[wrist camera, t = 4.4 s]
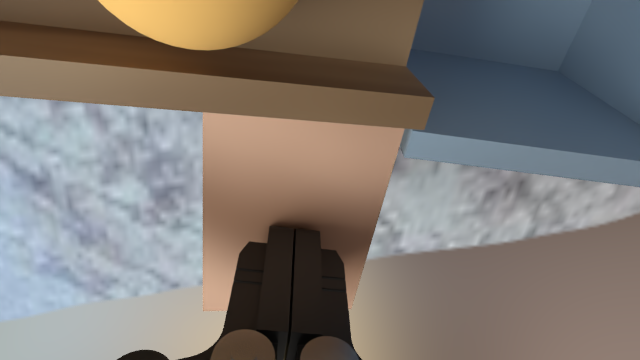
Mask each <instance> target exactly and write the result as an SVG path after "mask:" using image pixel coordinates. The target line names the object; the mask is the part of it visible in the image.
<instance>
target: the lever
mask: <svg viewBox="0 0 640 360" xmlns="http://www.w3.org/2000/svg"><path fill="white" fill-rule="evenodd" d="M423 2H424V0H298V2H297V3H296V4H295V5H294V7H293V8H292V9H291V11H290V12H289V13H288V14H287V15H286V16H285V17H284V18H283V19H282V20H281V21H280V22H279V23H278V24H277V25H276V26H274V27H273V28H272V29H270V30H269V31H267V32H266V33H265V34H263V35H261V36H259V37H257V38H256V39H254V40H252V41H249V42H247V43H244V44H241V45H239V46H235V47H230V48H226V49H219V50H191V49H186V48H181V47H175V46H171V45H168V44H165V43H162V42H159V41H156V40H154V39H152V38H150V37H147V36H145V35H143V34H141V33H139V32H138V31H136V30H134V29H133V28H131V27H130V26H128V25H126V24H125V23H124V22H122V21H121V20H120V19H118V18H117V17H116V16H115V15H113V14H112V13H111V12H110V11H108V10H107V9H106V8H105V7H104V6H103V5H102V4H101V3H100V2H99V1H98V0H0V96H8V97H21V98H33V99H46V100H58V101H70V102H83V103H95V104H107V105H120V106H132V107H144V108H157V109H169V110H182V111H194V112H203V311H227V309H228V305H229V300H230V295H231V290H232V285H233V281H234V276H235V271H236V266H237V261H238V257H239V253H240V252H241V251H242V249H243V248H244V247H245V246H246V245H247V243H248V242H249V241H251V242H260V243H267V241H268V233H269V226H278V227H287V228H294V234H295V229H296V228H297V229H306V230H315V231H320V238H321V249H329V250H336V251H337V253H338V255H339V256H340V258H341V260H342V261H343V263H344V269H345V281H346V290H347V291H346V293H347V300H348V309H351V308H352V305H353V301H354V298H355V295H356V291H357V288H358V285H359V281H360V278H361V274H362V271H363V268H364V264H365V261H366V258H367V254H368V251H369V247H370V244H371V241H372V237H373V234H374V231H375V227H376V224H377V220H378V217H379V214H380V210H381V207H382V204H383V200H384V197H385V193H386V190H387V187H388V183H389V180H390V177H391V173H392V170H393V166H394V163H395V160H396V156H397V153H398V150H399V146H400V143H401V139H402V136H403V133H404V129H417V130H424V129H425V126H426V123H427V120H428V117H429V114H430V111H431V108H432V105H433V102H434V99H435V97H434V96H433V95H432V94H431V93H430V92H429V91H428V90H427V89H426V88H425V87H424V85H423V84H422V83H421V82H420V81H419V80H418V79H417V78H416V77H415V76H414V75H413V73H412V72H411V71H410V70H409V69H408V68H407V67H406V65H407V61H408V57H409V54H410V50H411V46H412V43H413V39H414V35H415V32H416V28H417V24H418V21H419V17H420V13H421V10H422V6H423ZM293 240H294V236H293Z"/></svg>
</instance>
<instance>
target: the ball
mask: <svg viewBox="0 0 640 360" xmlns="http://www.w3.org/2000/svg"><path fill="white" fill-rule="evenodd" d="M98 1H99V2H100V3H101V4H102V5H103V6H104V7H105V8H106V9H107V10H108V11H110V12H111V13H112V14H113V15H115V16H116V17H117V18H118V19H120V20H121V21H122V22H124V23H125V24H126V25H128V26H130V27H131V28H133V29H134V30H136V31H138V32H139V33H141V34H143V35H145V36H147V37H150V38H152V39H154V40H156V41H159V42H162V43H165V44H168V45H171V46H175V47H181V48H186V49H191V50H219V49H226V48H230V47H235V46H239V45H241V44H244V43H247V42H249V41H252V40H254V39H256V38H257V37H259V36H261V35H263V34H265V33H266V32H267V31H269V30H270V29H272V28H273V27H274V26H276V25H277V24H278V23H279V22H280V21H281V20H282V19H283V18H284V17H285V16H286V15H287V14H288V13H289V12H290V11H291V9H292V8H293V7H294V5H295V4H296V3H297V2H298V0H98Z"/></svg>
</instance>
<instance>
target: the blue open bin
mask: <svg viewBox="0 0 640 360" xmlns="http://www.w3.org/2000/svg"><path fill="white" fill-rule="evenodd" d="M406 67H407V68H408V69H409V70H410V71H411V72H412V73H413V75H414V76H415V77H416V78H417V79H418V80H419V81H420V82H421V83H422V84H423V85H424V87H425V88H426V89H427V90H428V91H429V92H430V93H431V94H432V95H433V96H434V97H435V99H434V102H433V105H432V108H431V111H430V114H429V117H428V120H427V123H426V126H425V129H424V130H417V129H404V133H403V136H402V139H401V143H400V147H401V150H402V152H403V155H404V157H406V158H413V159H421V160H429V161H437V162H445V163H453V164H461V165H469V166H477V167H485V168H493V169H500V170H508V171H516V172H524V173H532V174H540V175H548V176H556V177H564V178H572V179H580V180H588V181H595V182H603V183H611V184H619V185H627V186H635V187H640V0H424V2H423V6H422V10H421V13H420V17H419V21H418V24H417V28H416V32H415V35H414V39H413V43H412V46H411V50H410V54H409V57H408V61H407V65H406Z"/></svg>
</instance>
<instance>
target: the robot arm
mask: <svg viewBox="0 0 640 360" xmlns="http://www.w3.org/2000/svg"><path fill="white" fill-rule="evenodd" d="M293 236H294V240H293ZM346 291H347V290H346V281H345V269H344V263H343V261H342V260H341V258H340V256H339V255H338V253H337V251H336V250H329V249H321V238H320V231H315V230H306V229H297V228H296V229H295V234H294V228H287V227H278V226H269V233H268V241H267V243H260V242H251V241H249V242H248V243H247V245H246V246H245V247H244V248H243V249H242V251H241V252H240V253H239V257H238V261H237V266H236V271H235V276H234V281H233V285H232V290H231V295H230V300H229V305H228V309H227V314H226V319H225V324H224V328H223V332H222V334H221V336H220V338H219V339H218V340H217V342H216V343H215V344H214V345H213V346H211V347H210V348H209V349H208V350H206V351H204V352H202V353H200V354H198V355H195V356H191V357H188V358H183V359H178V360H362V359H361V358H360V357H359V355H358V354H357V353H356V351H355V349H354V347H353V344H352V340H351V332H350V322H349V311H348V300H347V293H346ZM117 360H169V359H168V358H167V357H166V356H164V355H163V354H161V353H159V352H156V351H153V350H139V351H135V352H131V353H128V354H126V355H124V356H122V357H121V358H119V359H117Z"/></svg>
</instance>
